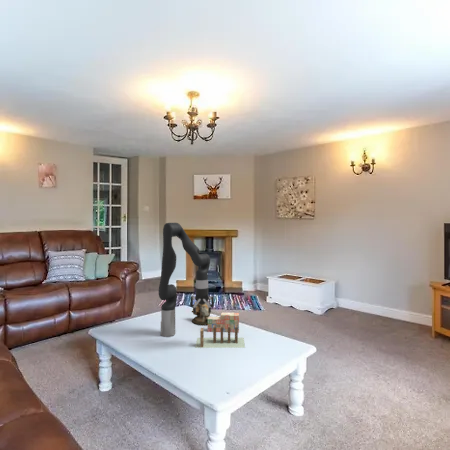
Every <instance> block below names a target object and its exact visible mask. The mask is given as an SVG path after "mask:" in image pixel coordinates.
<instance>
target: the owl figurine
mask: <svg viewBox="0 0 450 450" xmlns="http://www.w3.org/2000/svg"><path fill="white" fill-rule="evenodd" d="M195 303H196V301H194V304H195ZM194 304H193V305H194ZM208 308H209V307H208V305H207V304H206V303H205V304H199V303H198V304H197V305H196V314H194V313H193V310H192V311H191V313H192V314H193V315H195V317H194V318H192V320H191V322H192V323H193V324H195V325H197V326H202V327H203V326H208V317H209V316H210V315H211V313H210V314H209V312H208Z"/></svg>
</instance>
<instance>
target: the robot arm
mask: <svg viewBox="0 0 450 450" xmlns="http://www.w3.org/2000/svg"><path fill="white" fill-rule="evenodd" d="M174 237H175V238H178V239H180V241H181V245H182V248H183V250H184V251H185V252H186V253H187V254H188V255H189V257H190V259H191V261H192V263H193V264H194V265H195V266H197V267H200V268H199V269H197V270H196V272H195V275H196V276H195V279H196V280H195V296H193V295H191V296H190V301H189V302H190V303H189V304H190V307H191V308H192V311H193V312H192V314H193V313H194V314H196V305H197V304H198V303H199V304H205V303H206V304H207V305H208V312H209V314H210V315H211V313H212V307H214V306H215V302H214V298H215V297H214V296H213V295H211V296H209V281H208V279H209V278H208V277H209V274H208V273H209V269H210V264H211V258H210V257H211V256H210V255H209V254H207V253H201V254H200V248H199V247H198V246H197V244H195V243H194V242H193V241H192V239H191V238H190V237H189V235H188V234H187V233H186V231H185V229H184V227H183V226H182V225H181V224H180V223H178V222H166V223H165V224H164V225H163V229H162V242H163V243H162V245H163V246H162V258H161V269H160V270H161V273H160V280H159V286H158V298H159V299H160V300H162V301H164V302H163V303H162V304H161V306H160V308H161V311H160V313H161V316H160V317H161V321H160V336H161V337H166V338H169V337H174V336H175V335H176V306H177V299H178V295H177V291H178V290H177V288H176V286H175V285H174V284H171V283H169V282H170V279H171V277H172V275H173V273H174V272H175V269H176V266H177V254H176V251H175V250H174V248H173V238H174ZM194 300H195V302H196V303H195V302H194ZM209 300H210V301H211V302H210V301H209ZM193 302H194V303H195V304H193ZM194 314H193V315H194Z"/></svg>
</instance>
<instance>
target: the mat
mask: <svg viewBox="0 0 450 450" xmlns="http://www.w3.org/2000/svg"><path fill="white" fill-rule="evenodd" d="M244 338H245V337H238V343H235V337H230V343H228V337H223V343H221V337H216V343H213V337H204V345H203V347H200V337H197V338H196V341H195V342H196V343H195V347H194V348H195V349H199V348H200V349H204V348H205V349H209V348H211V349H212V348H213V349H216V348H219V349H222V348H225V349H226V348H227V349H229V348H230V349H232V348H235V349H237V348H240V349H241V348H242V349H243V348H244V349H245V348H246V345H245V339H244Z"/></svg>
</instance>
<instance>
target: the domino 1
mask: <svg viewBox="0 0 450 450" xmlns="http://www.w3.org/2000/svg"><path fill="white" fill-rule="evenodd" d="M204 331H205V330H204V327H201V328H200V332H199V333H200V334H199V335H200V337H199V338H200V347H203V345H204V338H205V337H204V334H205V333H204Z"/></svg>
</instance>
